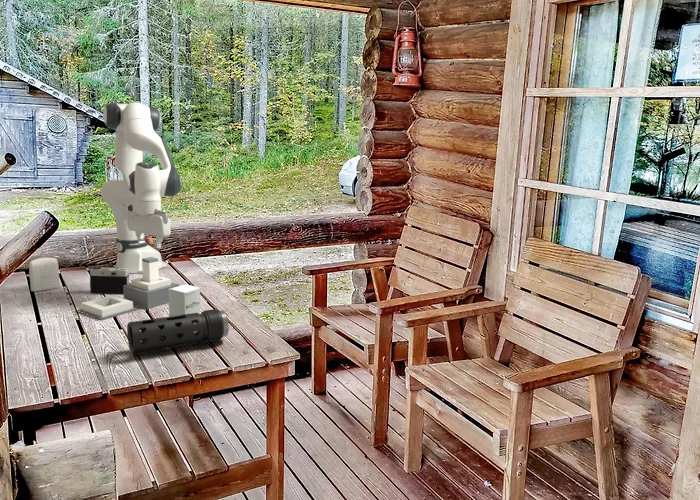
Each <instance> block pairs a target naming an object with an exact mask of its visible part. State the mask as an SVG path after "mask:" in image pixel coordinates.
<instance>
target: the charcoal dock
mask: <svg viewBox="0 0 700 500" xmlns="http://www.w3.org/2000/svg"><path fill="white" fill-rule="evenodd" d="M178 286H180V284H179V283H176V282H172V279H171V278H168V277H163V276H160V275H159V281H155V282H151V283H148V282H145V281H143V276H142V277H137V278H134V279H130V283H129V284H127V285H123V293H124V294H123V299H126V300H129V301H132V302H133V306H134V305H135V306H138V307H141V308H144V309H147V310H149V309H148V308H150V309H153V308H155V307H159V306H163V305H167V304H169V289H171V288H174V287H178Z"/></svg>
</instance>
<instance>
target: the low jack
mask: <svg viewBox="0 0 700 500" xmlns="http://www.w3.org/2000/svg"><path fill="white" fill-rule="evenodd" d="M80 305H81V308H80V309H77V312H78V311H80V312H83V313H85V314H84V315H86V314H88V315H90V316H89V317H91V316H92V318H94V317H95V318H94V319H96V320H100V321H104V320H108V319H111V318H114V317H117V316H118V317H119V316H120V315H121V316H122V315H124V314H129V313H130V312H135V311H138V308H137V307H134V304H133V302H132V301H129V300H126V299H124V297H123V298H122V297H119V296H117V295H115V294H109V295H107V296H104V297H99V298H95V299H90V300H88V301H83V302H81V304H80ZM80 312H79V313H80ZM83 313H82V314H83ZM88 315H87V316H88Z"/></svg>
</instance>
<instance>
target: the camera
mask: <svg viewBox="0 0 700 500" xmlns="http://www.w3.org/2000/svg"><path fill="white" fill-rule="evenodd" d="M127 284H130V273H129V269H128V268H118V267H116V266H115V267H100V266H95V267H92V268H90V269H89V287H90V288H89V289H90V290H89V292H90V294H99V295H100V294H101V295H102V294H103V295H104V294H105V295H124V293H123V285H127Z"/></svg>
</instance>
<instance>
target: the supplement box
mask: <svg viewBox="0 0 700 500" xmlns="http://www.w3.org/2000/svg"><path fill="white" fill-rule="evenodd" d="M191 313H199V314H201V288H200V287H198V286H194V285H189V284H185V283H183V284H181V285H179V286H178V287H174V288H171V289H169V303H168V314H169V315H168V317H169V316H176V315H184V314H191Z"/></svg>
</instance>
